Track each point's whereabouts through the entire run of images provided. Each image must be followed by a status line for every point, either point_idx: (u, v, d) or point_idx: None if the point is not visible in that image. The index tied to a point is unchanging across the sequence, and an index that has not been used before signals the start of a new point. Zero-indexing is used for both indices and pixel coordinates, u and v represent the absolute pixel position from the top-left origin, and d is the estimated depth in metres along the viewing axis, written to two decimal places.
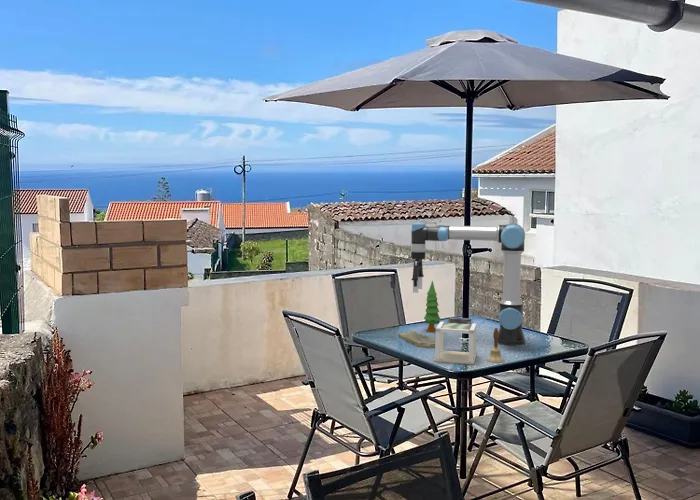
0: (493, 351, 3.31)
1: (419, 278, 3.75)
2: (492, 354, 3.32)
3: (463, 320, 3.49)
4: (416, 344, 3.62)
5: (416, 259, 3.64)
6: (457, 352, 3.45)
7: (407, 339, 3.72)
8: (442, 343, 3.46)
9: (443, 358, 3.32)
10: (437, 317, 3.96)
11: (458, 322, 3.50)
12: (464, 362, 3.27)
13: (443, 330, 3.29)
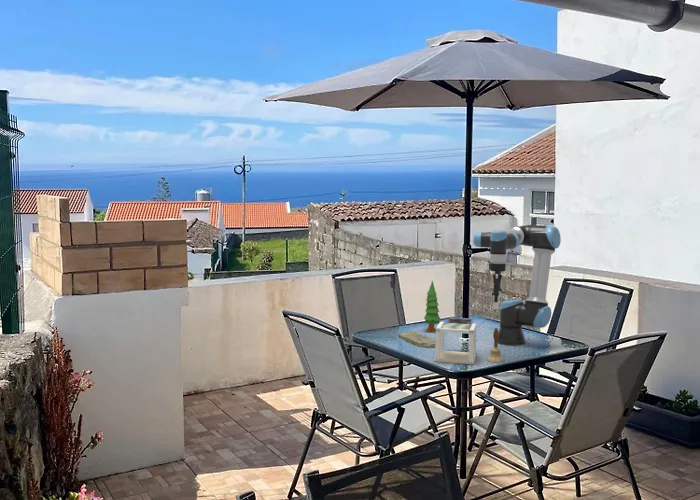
0: (493, 351, 3.31)
1: None
2: (492, 354, 3.32)
3: (463, 320, 3.49)
4: (417, 344, 3.62)
5: (496, 271, 3.26)
6: (457, 352, 3.45)
7: (407, 339, 3.72)
8: (442, 343, 3.46)
9: (443, 358, 3.32)
10: (437, 317, 3.96)
11: (458, 322, 3.50)
12: (464, 362, 3.27)
13: (443, 330, 3.29)
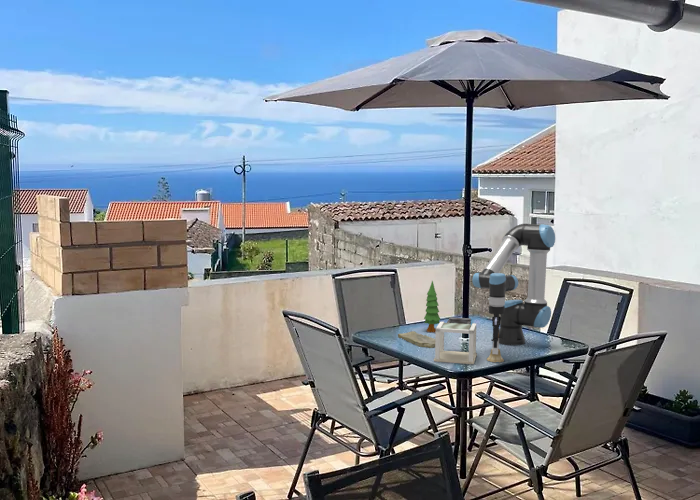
0: None
1: None
2: (492, 354, 3.32)
3: (463, 320, 3.49)
4: (417, 344, 3.62)
5: (495, 314, 3.28)
6: (457, 352, 3.45)
7: (408, 339, 3.72)
8: (442, 343, 3.46)
9: (443, 358, 3.32)
10: (437, 317, 3.96)
11: (458, 322, 3.50)
12: (464, 362, 3.27)
13: (443, 330, 3.29)
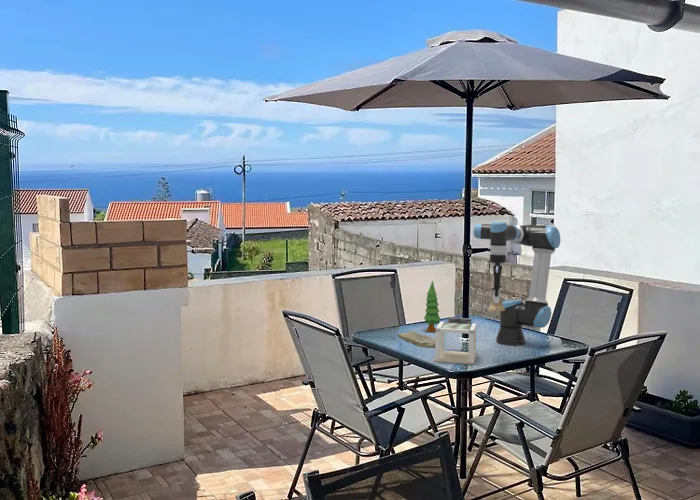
0: None
1: None
2: (493, 303, 3.29)
3: (463, 320, 3.49)
4: (418, 344, 3.62)
5: (496, 263, 3.26)
6: (457, 352, 3.45)
7: (408, 339, 3.72)
8: (442, 343, 3.46)
9: (443, 358, 3.32)
10: (437, 317, 3.96)
11: (458, 322, 3.50)
12: (464, 362, 3.27)
13: (443, 330, 3.29)
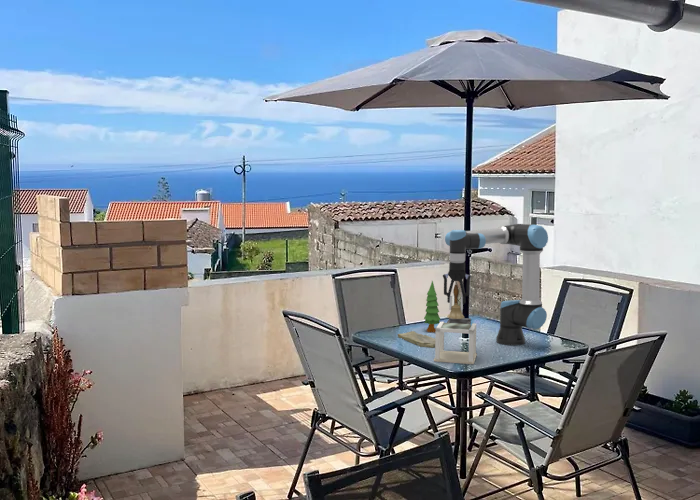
0: None
1: (461, 298, 3.32)
2: None
3: (463, 320, 3.49)
4: (419, 344, 3.62)
5: (449, 269, 3.32)
6: (457, 352, 3.45)
7: (408, 339, 3.72)
8: (442, 343, 3.46)
9: (443, 358, 3.32)
10: (437, 317, 3.96)
11: (458, 322, 3.50)
12: (464, 362, 3.27)
13: (443, 330, 3.29)
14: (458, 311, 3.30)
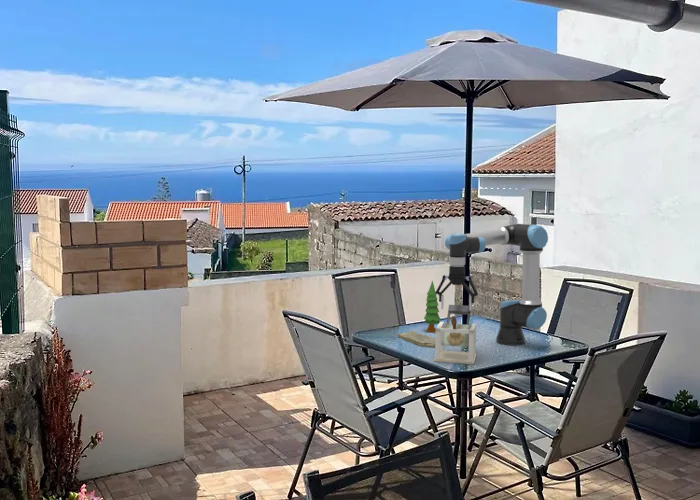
0: None
1: None
2: None
3: (463, 312, 3.46)
4: (419, 344, 3.62)
5: (449, 273, 3.32)
6: (457, 352, 3.45)
7: (408, 339, 3.72)
8: None
9: (443, 358, 3.32)
10: (437, 317, 3.96)
11: (458, 313, 3.48)
12: (464, 362, 3.27)
13: (443, 330, 3.29)
14: (457, 337, 3.31)
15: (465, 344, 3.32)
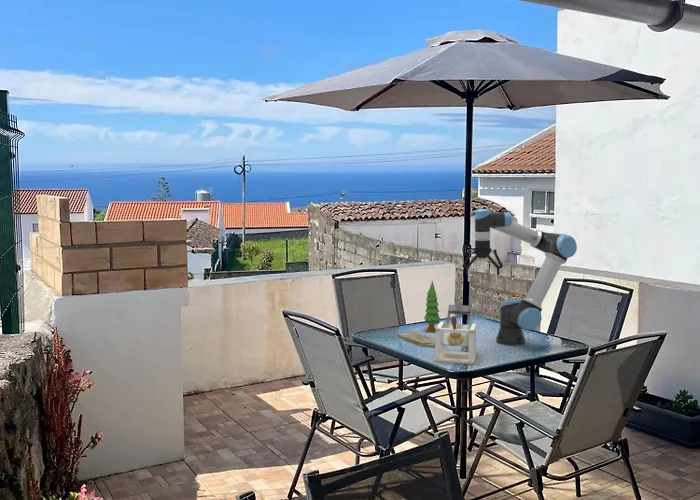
0: None
1: None
2: None
3: (463, 312, 3.46)
4: (420, 344, 3.63)
5: (475, 247, 3.48)
6: (457, 352, 3.45)
7: (409, 339, 3.72)
8: None
9: (443, 358, 3.32)
10: (437, 317, 3.96)
11: (458, 313, 3.48)
12: (464, 362, 3.27)
13: (443, 330, 3.29)
14: (457, 337, 3.31)
15: (465, 344, 3.32)
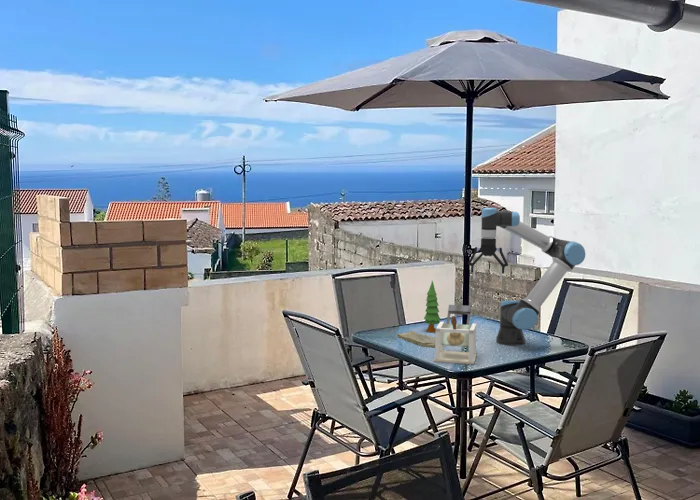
0: None
1: None
2: None
3: (463, 312, 3.46)
4: (420, 344, 3.63)
5: (481, 245, 3.52)
6: (457, 352, 3.45)
7: (409, 339, 3.72)
8: None
9: (443, 358, 3.32)
10: (437, 317, 3.96)
11: (458, 313, 3.48)
12: (464, 362, 3.27)
13: (443, 330, 3.29)
14: (457, 337, 3.31)
15: (465, 344, 3.32)
